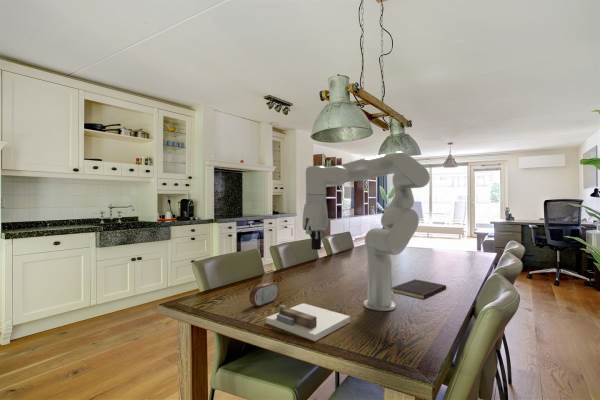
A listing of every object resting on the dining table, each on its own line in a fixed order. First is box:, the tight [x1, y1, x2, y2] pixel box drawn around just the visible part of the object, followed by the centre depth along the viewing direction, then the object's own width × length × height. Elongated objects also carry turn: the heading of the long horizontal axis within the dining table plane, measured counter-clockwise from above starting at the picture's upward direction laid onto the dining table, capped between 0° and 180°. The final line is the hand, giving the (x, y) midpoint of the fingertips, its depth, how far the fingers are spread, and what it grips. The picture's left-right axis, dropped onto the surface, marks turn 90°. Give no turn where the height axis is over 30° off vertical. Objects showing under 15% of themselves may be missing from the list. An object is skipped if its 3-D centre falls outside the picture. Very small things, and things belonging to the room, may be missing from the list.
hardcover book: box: [392, 278, 447, 300], centre depth 150 cm, size 16×23×2 cm
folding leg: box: [278, 304, 317, 329], centre depth 107 cm, size 16×3×4 cm, turn 47°
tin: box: [248, 281, 279, 307], centre depth 132 cm, size 15×3×8 cm, turn 141°
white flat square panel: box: [265, 302, 351, 342], centre depth 111 cm, size 20×22×4 cm
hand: (316, 249), depth 116 cm, fingers closed
